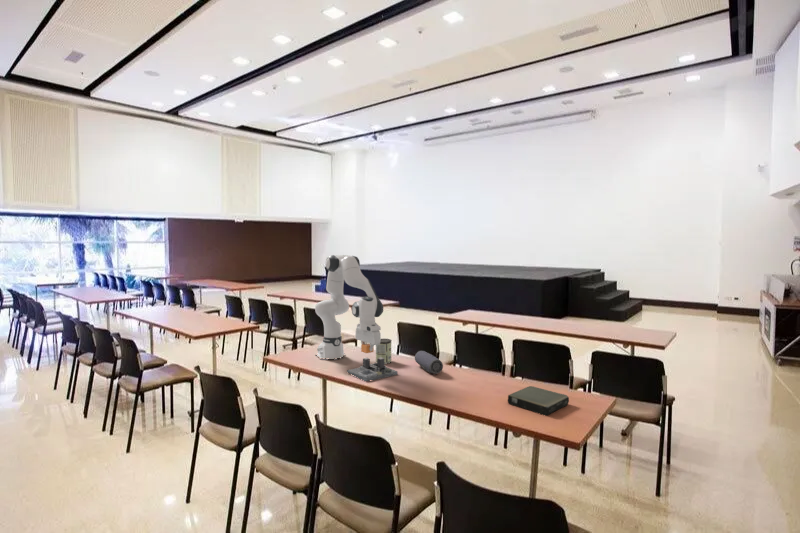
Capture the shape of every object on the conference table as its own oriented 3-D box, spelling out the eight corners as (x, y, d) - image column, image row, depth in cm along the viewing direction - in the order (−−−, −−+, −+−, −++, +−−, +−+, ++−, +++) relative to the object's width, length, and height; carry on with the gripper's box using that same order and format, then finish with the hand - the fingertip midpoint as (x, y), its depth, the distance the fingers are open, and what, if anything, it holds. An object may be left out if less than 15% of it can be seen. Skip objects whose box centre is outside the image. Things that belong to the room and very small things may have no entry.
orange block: (361, 351, 255) (361, 344, 255) (368, 350, 258) (368, 343, 258) (366, 353, 251) (366, 346, 251) (373, 351, 254) (373, 344, 254)
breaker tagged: (362, 367, 269) (362, 358, 268) (366, 366, 271) (366, 357, 270) (365, 368, 266) (365, 359, 266) (369, 368, 268) (369, 358, 268)
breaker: (377, 367, 269) (377, 357, 269) (381, 366, 271) (381, 357, 271) (380, 368, 267) (380, 358, 267) (384, 367, 269) (384, 358, 268)
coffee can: (376, 359, 296) (376, 338, 295) (392, 359, 295) (392, 338, 294) (374, 363, 286) (374, 341, 285) (390, 364, 285) (390, 342, 284)
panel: (347, 373, 265) (347, 368, 265) (377, 366, 279) (377, 361, 278) (366, 382, 249) (366, 376, 249) (397, 374, 263) (397, 369, 263)
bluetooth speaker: (443, 375, 263) (444, 358, 262) (429, 376, 260) (429, 359, 259) (427, 364, 284) (427, 349, 283) (413, 366, 281) (413, 350, 280)
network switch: (525, 393, 233) (525, 383, 233) (571, 404, 218) (571, 394, 218) (504, 406, 215) (505, 396, 215) (553, 418, 200) (553, 407, 200)
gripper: (352, 323, 260) (352, 347, 261) (373, 329, 244) (373, 354, 245) (361, 322, 264) (361, 345, 265) (382, 327, 248) (382, 352, 249)
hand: (367, 349), depth 255 cm, fingers closed on orange block, 5 cm apart
